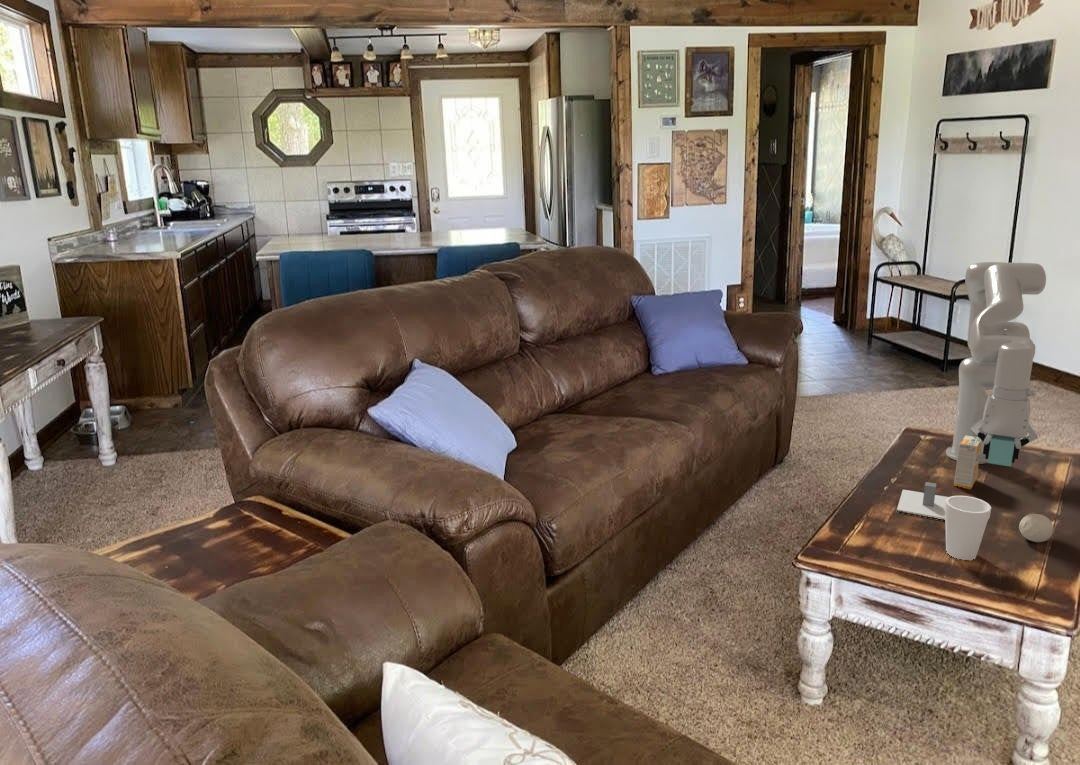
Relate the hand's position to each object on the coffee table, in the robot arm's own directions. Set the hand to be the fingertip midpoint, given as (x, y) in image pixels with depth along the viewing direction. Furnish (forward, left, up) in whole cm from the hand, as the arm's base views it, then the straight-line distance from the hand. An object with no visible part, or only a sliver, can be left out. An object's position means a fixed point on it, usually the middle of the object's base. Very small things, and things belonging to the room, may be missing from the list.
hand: (999, 458), depth 203 cm
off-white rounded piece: (+13, +9, -16) cm, 22 cm away
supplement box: (-17, -7, -16) cm, 24 cm away
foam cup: (+28, -6, -16) cm, 32 cm away
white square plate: (+4, -15, -15) cm, 22 cm away
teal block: (0, 0, -1) cm, 1 cm away
